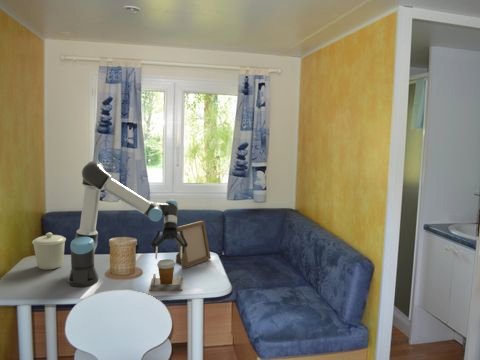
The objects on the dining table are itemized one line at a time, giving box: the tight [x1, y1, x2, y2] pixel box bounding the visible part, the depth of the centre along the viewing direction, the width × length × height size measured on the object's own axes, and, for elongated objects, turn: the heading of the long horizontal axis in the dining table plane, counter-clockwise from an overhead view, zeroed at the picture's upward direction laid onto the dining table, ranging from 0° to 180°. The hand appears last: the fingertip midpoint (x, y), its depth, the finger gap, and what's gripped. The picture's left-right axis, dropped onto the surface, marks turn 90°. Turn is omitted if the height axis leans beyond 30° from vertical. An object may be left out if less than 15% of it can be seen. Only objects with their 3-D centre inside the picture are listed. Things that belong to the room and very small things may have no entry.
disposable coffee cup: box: [156, 258, 176, 284], centre depth 212 cm, size 10×10×12 cm
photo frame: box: [175, 220, 211, 269], centre depth 248 cm, size 15×22×25 cm
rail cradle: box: [148, 272, 184, 292], centre depth 212 cm, size 17×16×3 cm
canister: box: [31, 231, 67, 271], centre depth 233 cm, size 18×18×21 cm
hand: (168, 258), depth 216 cm, fingers open, 13 cm apart
